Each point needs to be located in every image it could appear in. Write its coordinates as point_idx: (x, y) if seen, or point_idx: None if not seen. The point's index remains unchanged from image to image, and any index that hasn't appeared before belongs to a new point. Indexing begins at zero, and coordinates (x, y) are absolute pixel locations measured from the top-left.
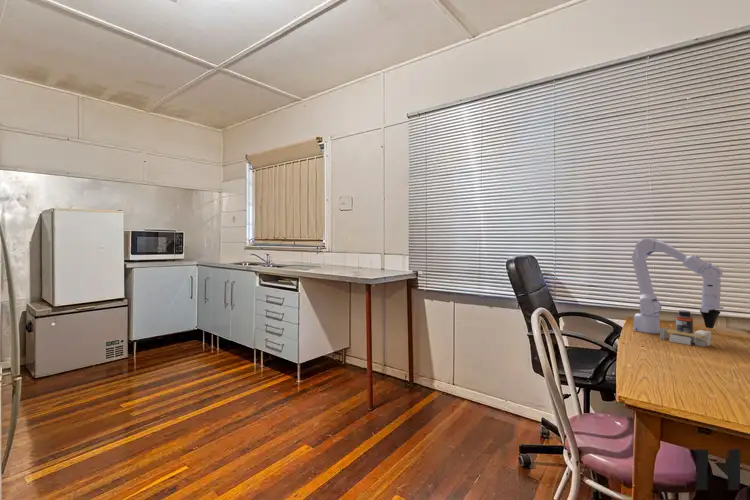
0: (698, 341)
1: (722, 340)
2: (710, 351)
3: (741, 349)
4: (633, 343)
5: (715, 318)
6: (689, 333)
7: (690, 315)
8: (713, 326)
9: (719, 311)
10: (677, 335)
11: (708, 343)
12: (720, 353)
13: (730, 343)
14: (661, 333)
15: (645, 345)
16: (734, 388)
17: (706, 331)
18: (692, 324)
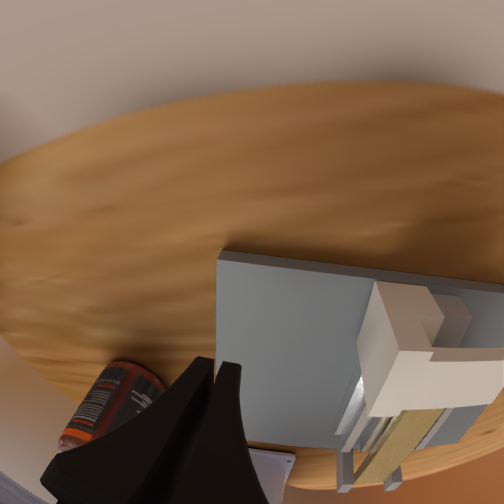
0: (458, 343)
1: (61, 239)
2: (459, 256)
3: (223, 104)
4: (460, 453)
5: (168, 437)
6: (419, 416)
7: None
8: (204, 367)
9: (81, 502)
10: (430, 430)
11: (427, 295)
12: (475, 206)
13: (93, 193)
14: None
15: (474, 433)
16: None
17: (410, 373)
18: (99, 413)
